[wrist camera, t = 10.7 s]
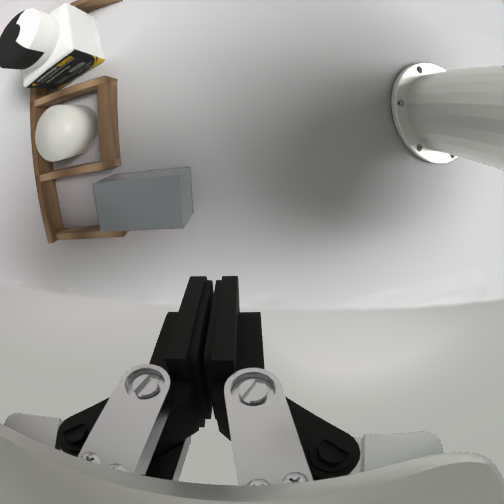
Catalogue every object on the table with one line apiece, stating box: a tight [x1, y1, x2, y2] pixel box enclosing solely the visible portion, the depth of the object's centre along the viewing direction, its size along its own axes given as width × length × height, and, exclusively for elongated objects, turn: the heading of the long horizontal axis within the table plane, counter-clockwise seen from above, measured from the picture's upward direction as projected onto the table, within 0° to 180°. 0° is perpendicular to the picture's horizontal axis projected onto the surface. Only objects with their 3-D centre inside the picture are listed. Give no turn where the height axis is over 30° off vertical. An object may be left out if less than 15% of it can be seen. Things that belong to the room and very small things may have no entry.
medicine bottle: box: [0, 3, 105, 89], centre depth 15 cm, size 7×7×12 cm
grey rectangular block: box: [93, 167, 193, 232], centre depth 26 cm, size 9×5×5 cm, turn 91°
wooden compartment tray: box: [30, 0, 130, 243], centre depth 23 cm, size 11×30×3 cm, turn 1°
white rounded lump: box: [35, 105, 99, 162], centre depth 23 cm, size 6×6×5 cm
